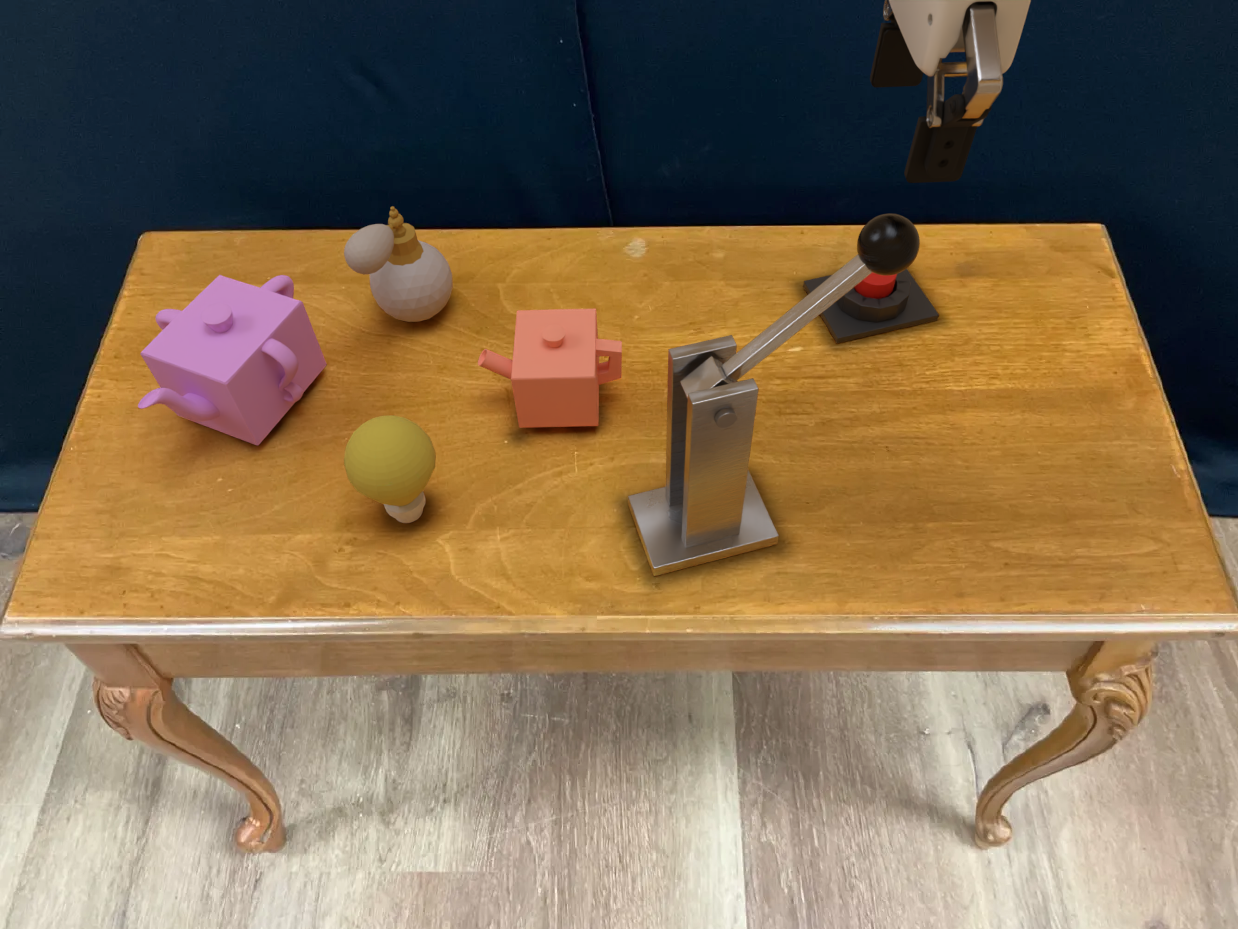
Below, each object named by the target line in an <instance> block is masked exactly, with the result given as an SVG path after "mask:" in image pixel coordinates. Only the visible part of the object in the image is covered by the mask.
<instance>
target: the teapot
mask: <svg viewBox="0 0 1238 929" xmlns="http://www.w3.org/2000/svg"><path fill="white" fill-rule="evenodd" d="M294 294H295V284H294V282H293V279H292V278H291V277H290V276H289V275H285V274H280V275H276V276H274V277H271V278H270V279H269V280H268V281H266V282H265V283H264V284H262V285H261V286H260V287H259V286H256V285H254V284H253V285H252V284H250V283H246V282H243V281H240V280H237V279H233V278H230V277H227V276H224V275H222V274H219V275H218V276H216V277H215V278H214V279H213V280H212V281H211V282H210V283H209V284H208V285H206V287H205V288H204V289H203V290H202V291H201V292H200V293H198V295H196V297H194V298H193V300H191V301H190V303H189V304H187V306H185V308H184V309H182V310H180V309H175V308H164V309H161V310H160V311H158V312H157V313H156V315H155V323H156V324H157V325H158V327H159V328H160V329H161V331H160V332H159V333H158V334H157V335H156V336H155V337H154V338H153V339H152V340H151V341H150V342H149V343H148V345H146V347H144V348H143V349H142V350H141V352H140V356H141V358H142V359H143V361H144V362H145V364H146V366H147V368H148V369H149V371H150V373H151V374H152V376H153V377H154V379H155V381H156V383H157V384H158V386H159V387H157V388H154V389H151V390H150V391H148V392H147V393H146V394H145V395H144V396H143V397H142V398H141V399H140V400H139V402H138V404H137V408H139V409H141V410H143V409H146V408H147V409H148V408H149V407H152V406H155V405H164V406H165V407H167V408H168V409H170V411H172V412H174V414H176V416H177V417H181V418H183V419H185V420H188V421H191V422H194V423H196V424H199V425H201V426H205V427H207V428H209V429H212V430H215V431H217V432H221V433H222V434H226V435H227V436H231V437H233V438H236V439H238V440H240V441H241V440H242V441H244V442H246V443H250V444H252V445H255V446H257V447H258V446H259V445H260V444H262V442H263V441H264V439H265V438H267V436H268V435H269V434H270V432H271V431H272V430H273V429H274V428H275V427H276V426H277V425H278V423H279V422H280V421H281V420H282V418H283V417H284V416H285V415H286V414H287V413H288V411H289V410H290V409H291V408H292V407H293V406H294V405H295V403H296V402H298V401H300V400H301V398H302V397H303V395H304V392H306V390H307V389H308V388H309V387H310V386H311V384H312V383H313V382H314V381H315V379H316V378H317V377H318V376H319V375H320V374H321V372H322V371H324V369H325V368H326V366H327V365H328V364H327V362H326V359H325V357H324V354H323V351H322V348H321V345H320V343H319V341H318V338H317V336H316V333H315V331H314V328H313V325H312V323H311V320H310V317H309V315H308V313H307V309H306V307H305V304H304V302H303V301H301V300H299V299H295V298H294Z"/></svg>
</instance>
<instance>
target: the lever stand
mask: <svg viewBox="0 0 1238 929" xmlns="http://www.w3.org/2000/svg"><path fill="white" fill-rule="evenodd" d="M737 348H738V344H737V342H736V340H735V338H734V336H733V335H732V334H729V335H725V336H721V337H715V338H711V339H707V340H703V341H699V342H694V343H690V344H689V343H688V344H685V345H681V346H677V347H671V348H668V350H667V352H668V353H667V355H668V356H667V396H666V398H667V399H666V400H667V402H666V403H667V404H666V447H665V450H666V451H665V453H666V454H665V486H662V487H658V488H654V489H650V490H646V491H641V492H639V493H634V494H630V495H627V506H628V509H629V511H630V513H631V517H632V520H633V523H634V525H635V528H636V531H637V535H638V536H639V539H640V542H641V545H642V548H643V550H644V553H645V556H646V559H647V562H648V565H649V567H650V571H651V573H652V576H653V577H657V576H660V575H665V574H668V573H669V574H670V573H673V572H676V571H680V570H684V569H688V568H691V567H696V566H699V565H703V564H706V563H710V562H714V561H715V562H716V561H718V560H723V559H726V558H729V557H733V556H738V555H742V554H745V553H749V552H752V551H758V550H760V549H765V548H768V547H772V546H775V545H776V546H777V545H778V543H779V538H780V535H779V533H778V531H777V529H776V527H775V524H774V522H773V520H772V518H771V515H770V514H769V511H768V508H767V507H766V505H765V503H764V500H763V498H762V496H761V494H760V492H759V490H758V487H757V485H756V483H755V481H754V479H753V476H752V475H751V472H750V470H749V466H750V458H751V451H752V442H753V436H754V435H753V434H754V428H755V421H756V414H757V413H756V412H757V407H758V406H757V404H758V397H759V390H760V389H759V387H758V384H757V383H756V381H755V379H754V378H753V377H752V378H748V379H743V380H739V381H738V382H734V383H730V384H726V385H721V386H717V387H713V388H709V389H704V390H700V391H696V392H691V393H688V399H687V397H686V394H685V392H684V390H683V387H682V385H681V383H680V382H681V381H682V380H683V379H684V378H685V377H686V376H688V375H689V374H690V373H691V372H692V371H694V370H695V369H696V368H697V367H699V366H700V365H701V364H702V363H703V362H705V361H706V360H707V359H708V358H709V357H711V356H712V357H714V358H715V359H717V360H718V361H720V362H721V363H723V364H724V363H725V362H726V361H727V360H729V359H730V358H731V357H732V356H733V355H735V354H736V353H737Z"/></svg>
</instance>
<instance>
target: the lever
mask: <svg viewBox="0 0 1238 929" xmlns="http://www.w3.org/2000/svg"><path fill="white" fill-rule="evenodd" d="M920 240H921V239H920V234H919V232H918V230H917V227H916V226H915V225H914V223H913V222H912V220H910V219H909V218H907V217H905V216H903V215H901V214H898V213H883V214H879V215H877V216H875V217H873V218H872V219H870V220H868V222H867V223H866V224H864V226H863V227H862V228H861V230H860V232H859V234H858V237H857V241H856V251H857V254H856V255H855V256H854V257H852V258H851V259H850V260H848V261H847V262H846V263H845V264H844V265H843V266H842V267H840V268H839V269H837V271H835V272H834V273H833V274H831V275H832V276H830V277H829V278H828V279H827V280H826V281H824V282H823V283H822V284H821V285H819V286H818V287H817V288H816V289H814V290H813V291H812V292H811V293H810V294H807V295H806V296H804V297H803V298H802V299H801V300H800V301H799V302H797V303H796V304H795V305H793V306H792V307H791V308H790V309H789V310H788V311H786V312H785V313H784V314H782V315H781V316H780V317H779V318H777V320H775V321H773V323H771V324H770V325H769V326H768V327H766V329H764V330H762V332H760V333H759V334H758V335H757V336H755V337H754V338H753V339H752V340H750V341H749V342H748V343H747V344H745V345H744V346H743V347H742V348H741V349H739V350H738V351H736V354H735V355H733V356H732V357H731V358H730V359H729V360H727V361H726V362H725V363H724V364H723V363H721V362H720V361H718V360H717V359H715V358H714V357H712V356H711V357H709V358H708V359H707V360H706V361H705V362H703V363H702V364H701V365H700V366H699V367H697V368H696V369H695V370H694V371H692V372H691V373H690V374H689V375H688V376H686V377H685V378H684V379H683V380H682V381H681V382H680V383H681V385H682V387H683V390H684V392H685V394H686V397H687V399H688V393H691V392H696V391H700V390H704V389H709V388H713V387H717V386H721V385H726V384H730V383H734V382H739V381H738V380H740V379H741V378H742V377H743V376H745V375H746V374H747V373H748V372H750V371H751V370H753V368H755V367H756V366H757V365H758V364H760V363H761V362H763V360H765V359H766V358H767V357H769V356H770V355H771V354H772V353H774V352H775V351H776V350H777V349H778V348H780V347H781V346H782V345H784V344H785V343H786V342H787V341H788V340H790V339H791V338H793V337H794V336H795V335H796V334H797V333H799V332H800V331H801V330H802V329H804V328H805V327H806V326H807V325H808V324H811V322H812V321H814V320H815V319H816V318H817V317H818V316H820V314H821V313H822V312H823V311H825V310H826V309H827V308H828V307H830V306H831V305H832V304H833V303H835V302H836V301H837V300H838V299H840V298H841V297H842V296H843V295H845V294H846V293H847V292H849V291H850V290H851V289H852V288H854V287H855V286H856V285H857V284H859V283H860V282H861V281H862V280H864V279H865V278H866V277H867V276H869V275H870V274H871V273H872V272H873V273H875V274H879V275H885V276H888V275H895V274H898V273H900V272H902V271H904V270H905V269H907V270H908V268H909V267H911V265H913V263H914V262H915V260H916V259H917V257H918V254H919V252H920V245H921V241H920Z"/></svg>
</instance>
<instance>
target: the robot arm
mask: <svg viewBox="0 0 1238 929" xmlns="http://www.w3.org/2000/svg"><path fill="white" fill-rule="evenodd" d="M1031 2H1032V0H884V3H883V9H882V16H883V20H884V21H885V22H881V23H880V27H879V32H878V37H877V42H876V46H875V52H874V57H873V61H872V66H871V71H870V75H869V81H870V84H871V87H873V88H877V89H878V88H898V87H899V88H900V87H901V88H902V87H903V88H904V87H917V86H918V85H920V84H921V82H922V80H923V76H924V74H925V76H926V78H927V82H926V115H924V116H918V119H917V122H916V126H915V130H914V133H913V138H912V141H911V145H910V149H909V153H908V157H907V160H906V164H905V167H904V177H905V180H906V182H907V183H909V184H920V183H921V184H922V183H946V182H956V181H958V180H960V179H961V177H962V176H963V173H964V171H965V166H966V163H967V160H968V157H969V154H970V151H971V148H972V145H973V141H974V138H975V135H976V132H977V129H978V127H980V126H982V125H983V123H984V120H985V119H986V118H987V117H988V116H989V113H990V112H991V111H992V107H993V106H992V105H993V103H994V102H995V101H996V99H997V98H998V97H999V95H1000V94H1001V92H1002V89H1003V85H1004V77H1003V74H1005V73H1006V72H1007V71H1008V70H1009V69H1010V67H1011V66H1012V63H1013V62H1014V58H1015V56H1016V53H1017V49H1018V46H1019V43H1020V39H1021V36H1022V33H1023V29H1024V25H1025V24H1026V19H1027V16H1028V12H1029V9H1030V5H1031ZM889 21H890V22H889ZM950 53H964V56H965V61H949V62H945V61H944V62H943V59H946V58H947V57H948V55H949V54H950ZM964 77H965V78H966V79H965V83H964V86H963V87H962V93H957V94H953V95H952V96H950V97H949V98H947V99H946V100H945V79H946V78H964Z"/></svg>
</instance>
